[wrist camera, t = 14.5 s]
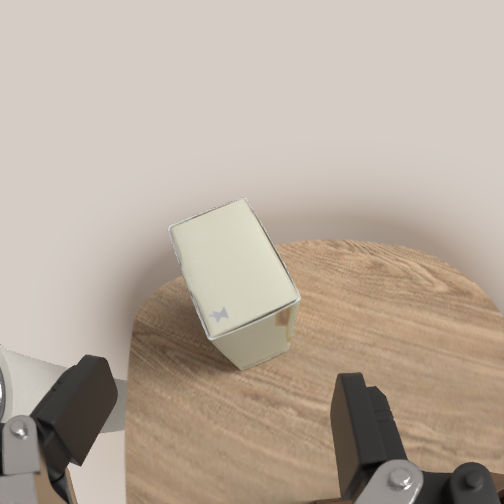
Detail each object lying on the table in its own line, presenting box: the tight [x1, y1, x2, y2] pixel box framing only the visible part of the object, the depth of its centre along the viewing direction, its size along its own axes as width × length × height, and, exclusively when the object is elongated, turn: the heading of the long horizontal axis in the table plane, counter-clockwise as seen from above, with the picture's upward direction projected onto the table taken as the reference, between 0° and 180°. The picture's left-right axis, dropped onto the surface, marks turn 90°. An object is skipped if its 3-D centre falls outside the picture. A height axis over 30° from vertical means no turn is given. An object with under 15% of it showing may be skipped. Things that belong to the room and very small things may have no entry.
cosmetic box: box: [168, 197, 300, 371], centre depth 19 cm, size 6×4×12 cm
